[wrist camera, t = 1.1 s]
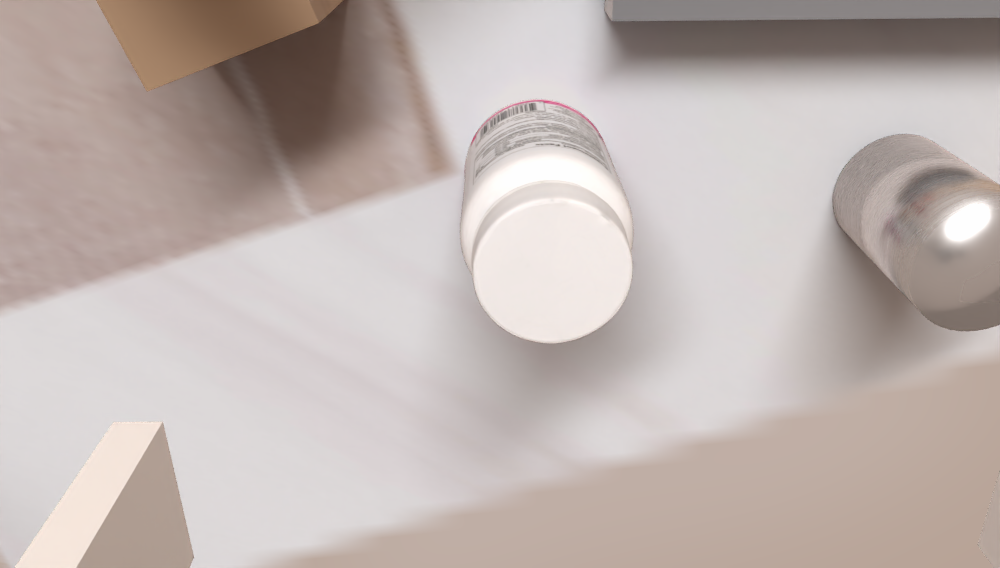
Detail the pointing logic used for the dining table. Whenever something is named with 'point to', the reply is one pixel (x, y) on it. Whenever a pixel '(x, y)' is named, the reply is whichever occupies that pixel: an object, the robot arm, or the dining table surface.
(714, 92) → the dining table surface
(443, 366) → the dining table surface
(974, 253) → the cylinder
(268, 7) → the walnut block
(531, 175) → the pill bottle
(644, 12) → the tray
